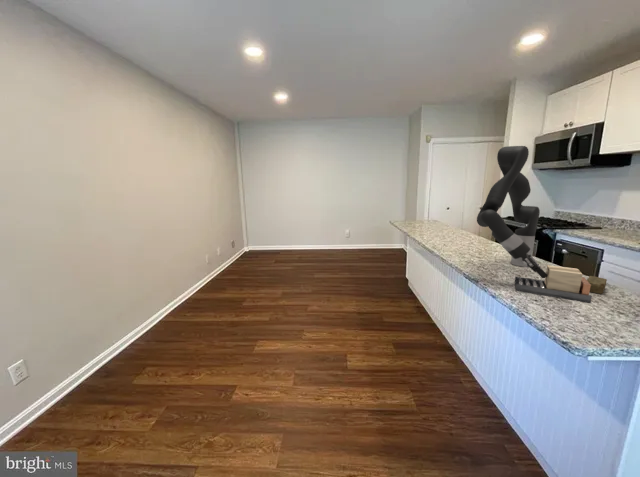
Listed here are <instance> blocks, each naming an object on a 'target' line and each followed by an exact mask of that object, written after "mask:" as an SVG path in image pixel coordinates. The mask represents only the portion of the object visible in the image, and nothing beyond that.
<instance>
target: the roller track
mask: <svg viewBox="0 0 640 477" xmlns="http://www.w3.org/2000/svg"><path fill="white" fill-rule="evenodd" d="M590 287H591V284H590V283H589V282H588V281H587V279H586V277H584V276H582V280H581V285H580V290H579V293H574V292H568V291H561V290H555V289H548V288H547V287H546V285H545V280H542V279H536V278H528V277H520V276H515V277H514V288H515V291H517V292H523V293H529V294H534V295H539V296H541V295H542V296H548V297H551V298H552V297H553V298H557V299H564V300H571V301H575V302H582V303H588V304H589V303H590V304H591V303H592V298H593V296H592V295H591V294H590V293H591V292H590Z"/></svg>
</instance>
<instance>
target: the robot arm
mask: <svg viewBox="0 0 640 477" xmlns="http://www.w3.org/2000/svg"><path fill="white" fill-rule="evenodd" d="M529 152H530V151H529V148H528V147H527V146H526V145H511V146H510V145H509V146H502V147H500V149H499V150H498V152H497V156H496V160H497V164H498V166H499V169H500V171H501V173H502V175H503V177H502V176H501V178H500V179H498V180H497V182H495V183H494V184H493V185H492V186H491V188H490V189H489V192H488V194H487V195H486V196H487V197H486V199H485V202H484V204H483V205H482V207H481V209H480V211H479V212H478V214H477V216H476V222H477V224H478V226H480V227H482V228H487V227H488V228H489V230H491V236H492V237H493V238H494V239H495V240H496V241H497V242H498V243H499V244H500V245H501V247H502V248H503V249H504V250H505V251H506V252H507V254H509V255H510V256H511V257H510V258H511V260H510V264H511V265H513V266H516V267H522V268H524V267H525V268H529V269H531V270H532V271H533V272H534V273H537V275H538V276H540V277H541V279H545V277H547V276H548V275H547V274H546V271H544V270H543V269H542V267H541V266H540V264H539V263H538V261H537V260H536V259H535V258H534V257H533V251H534V246H535V238H536V232H537V227H538V222H539V219H540V218H539V217H540V211H541V210H540V208H539V207H538V206H534V205H523V202H524V201H525V200H526V199H527V198H528V197H529V195H530V193H531V185H530V181H529V179H528V177H526V175H524V174H523V173H522V169H524V167H525V165H526V163H527V161H528V158H529ZM508 195H509V198H510V202H511V207H512V214H513V215H512V216H513V219H514V221H515V222H518V223H522V224H523V223H525V224H527V226H525V227H520V228H516V229H515V230H514V231H513V230H512V229H510V227H509V226H507V224H506V222H505V221H504V219H503V218H502V216H501V215H500V213H499V212H498V211H499V210H500V209H501V207H503V205H504V202H505V199H506V198H507V196H508Z"/></svg>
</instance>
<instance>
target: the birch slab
mask: <svg viewBox="0 0 640 477" xmlns="http://www.w3.org/2000/svg"><path fill="white" fill-rule="evenodd" d="M545 273H546V274H547V275H548V276H547V277H545V278H544V281H545V285H546V287H547V288H548V289H555V290H561V291H568V292H574V293H579V290H580V285H581V280H582V277H583V273H582V272H581V271H580V269H578V268H573V267H566V266H559V265H558V266H557V265H548V264H547V265H546V271H545Z"/></svg>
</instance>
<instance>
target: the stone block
mask: <svg viewBox="0 0 640 477" xmlns="http://www.w3.org/2000/svg"><path fill="white" fill-rule="evenodd" d="M586 280H587V281H588V282H589V283H590V284H591V287H590V292H589V293H593V294H596V295H597V294H599V295H603V294H604V291H605V289H606V285H607V281H608V279H607V278H605V277H598V276H594V275H589V276H588V278H587V279H586Z"/></svg>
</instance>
